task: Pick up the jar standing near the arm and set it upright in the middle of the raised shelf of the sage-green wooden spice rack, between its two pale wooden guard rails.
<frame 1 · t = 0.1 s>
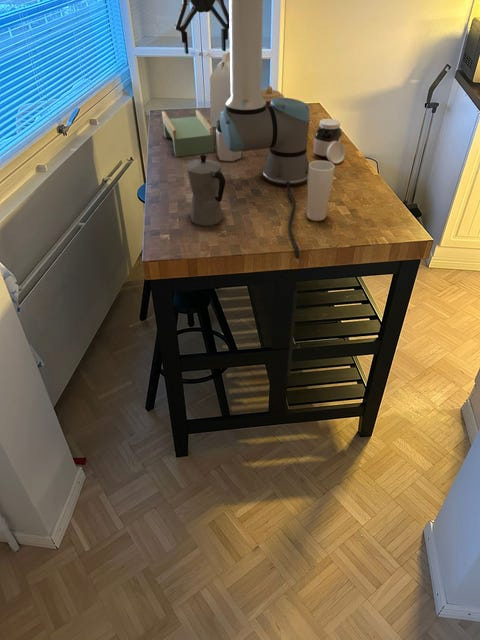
hand: (205, 51, 168), 28 cm above the table, tool pointing down, fingers open, 13 cm apart
spread jar: (329, 158, 165), on the table
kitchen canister: (267, 136, 183), on the table
jar: (229, 157, 167), on the table
coffeepot: (209, 220, 132), on the table
milk: (229, 124, 194), on the table
drinking glass: (316, 217, 133), on the table
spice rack: (188, 143, 177), on the table
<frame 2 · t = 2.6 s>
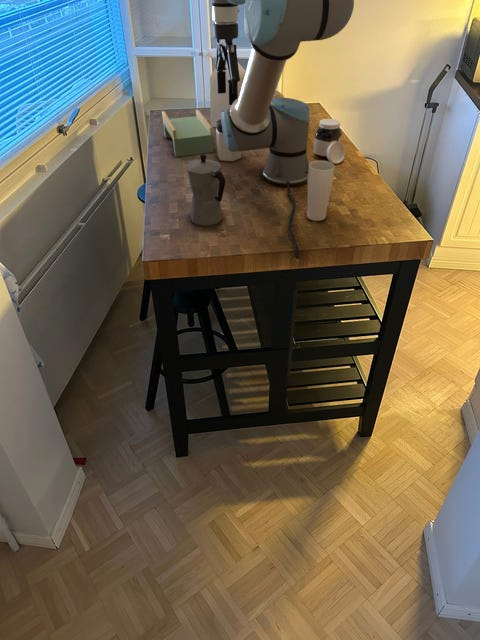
hand: (227, 98, 154), 19 cm above the table, tool pointing down, fingers open, 13 cm apart
nothing on the table moved.
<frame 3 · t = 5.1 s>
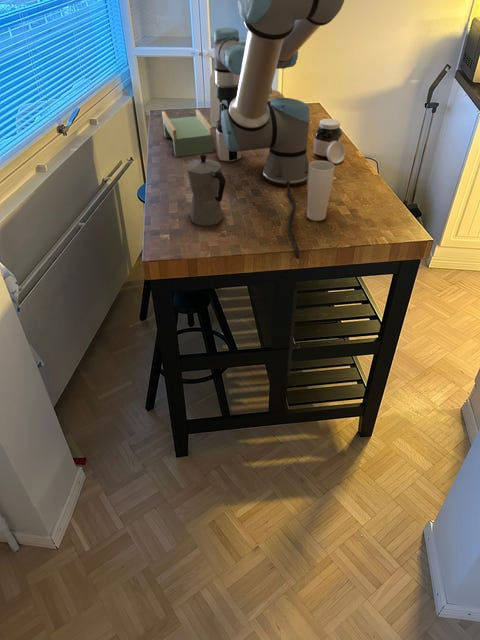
hand: (229, 154, 166), 1 cm above the table, tool pointing down, fingers closed on jar, 9 cm apart
jar: (229, 157, 167), on the table, touching gripper
everything else where it was.
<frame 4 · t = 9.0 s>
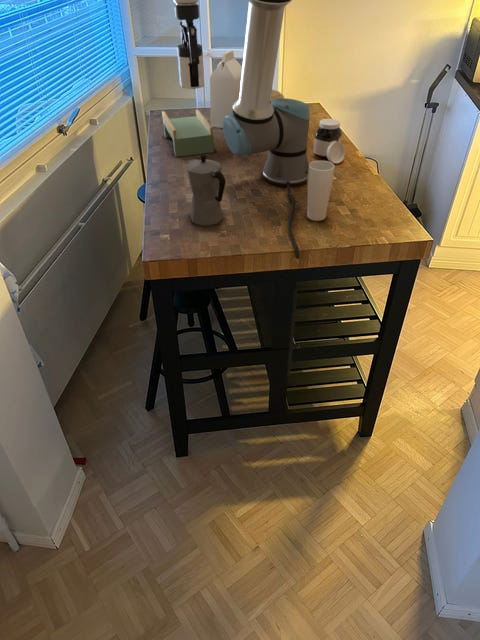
hand: (191, 82, 161), 22 cm above the table, tool pointing down, fingers closed on jar, 9 cm apart
jar: (192, 86, 161), point 20 cm above the table, touching gripper
everything else where it was.
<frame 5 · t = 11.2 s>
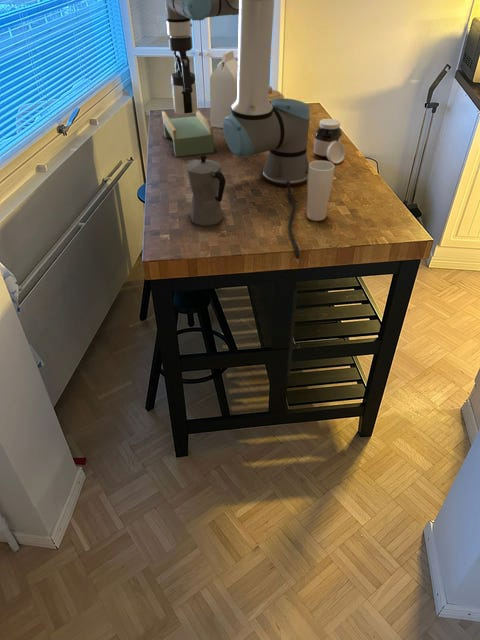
hand: (185, 108, 168), 13 cm above the table, tool pointing down, fingers closed on jar, 9 cm apart
jar: (185, 111, 169), point 11 cm above the table, touching gripper
everything else where it was.
when the fingers open (7 cm above the table, at t = 13.0 s): jar stays where it is, resting on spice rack.
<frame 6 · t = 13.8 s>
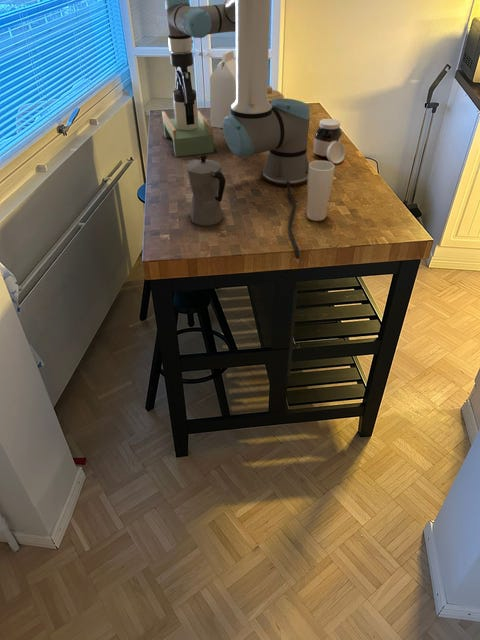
hand: (186, 118, 171), 9 cm above the table, tool pointing down, fingers open, 13 cm apart
jar: (187, 127, 173), point 6 cm above the table, touching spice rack
everything else where it was.
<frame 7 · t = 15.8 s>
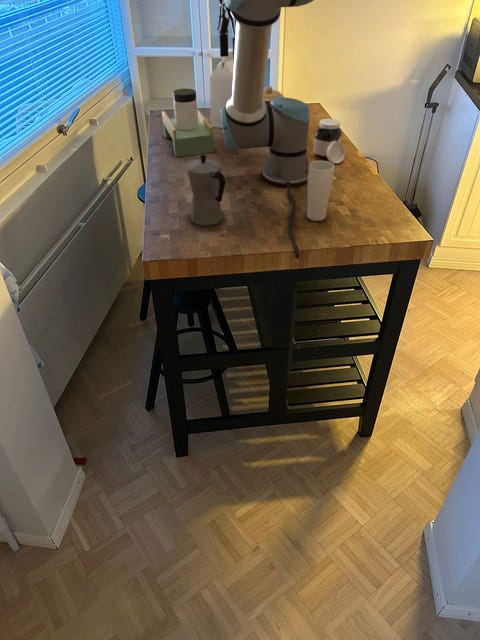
hand: (230, 60, 156), 28 cm above the table, tool pointing down, fingers open, 13 cm apart
nothing on the table moved.
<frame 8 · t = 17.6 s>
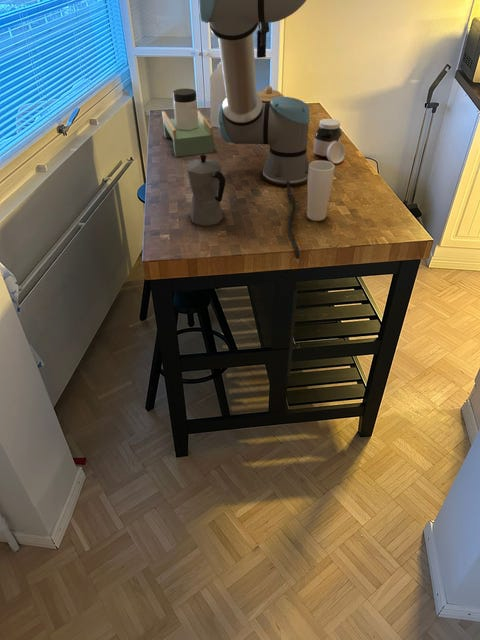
hand: (254, 53, 153), 31 cm above the table, tool pointing down, fingers open, 13 cm apart
nothing on the table moved.
at the end: jar inside the target area on the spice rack (0.0 cm from its centre), point 6.0 cm above the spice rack's base; jar tilted 0°; jar touching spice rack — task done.
